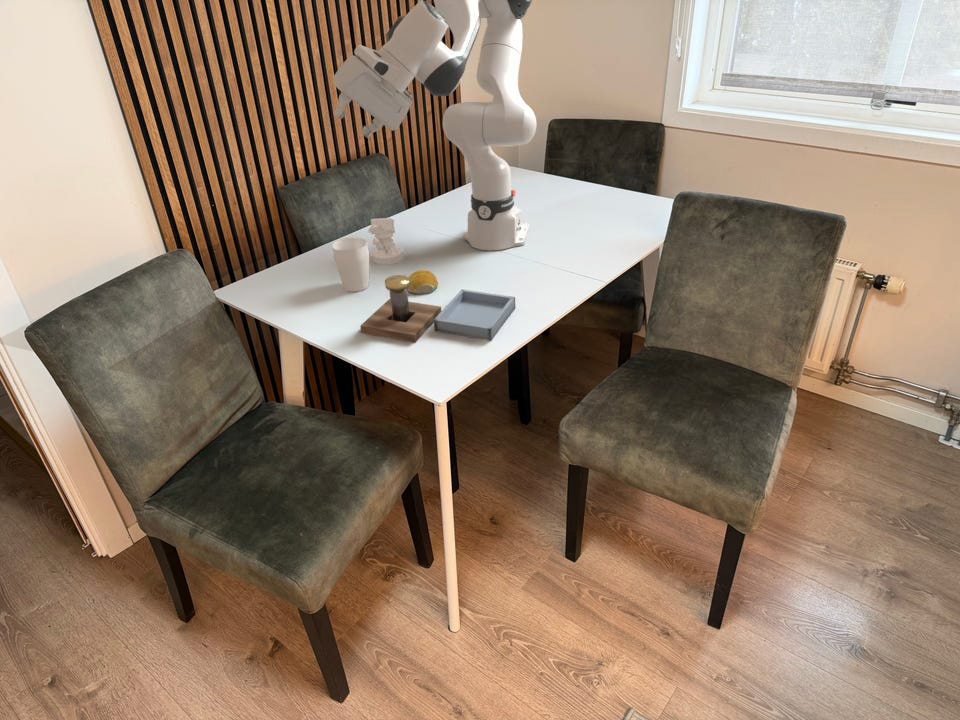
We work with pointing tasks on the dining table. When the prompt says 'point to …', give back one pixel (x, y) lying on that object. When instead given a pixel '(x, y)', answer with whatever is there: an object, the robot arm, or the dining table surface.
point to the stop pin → (399, 297)
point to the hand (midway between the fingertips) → (350, 126)
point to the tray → (475, 314)
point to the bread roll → (422, 282)
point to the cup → (352, 263)
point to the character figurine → (384, 242)
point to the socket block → (405, 331)
